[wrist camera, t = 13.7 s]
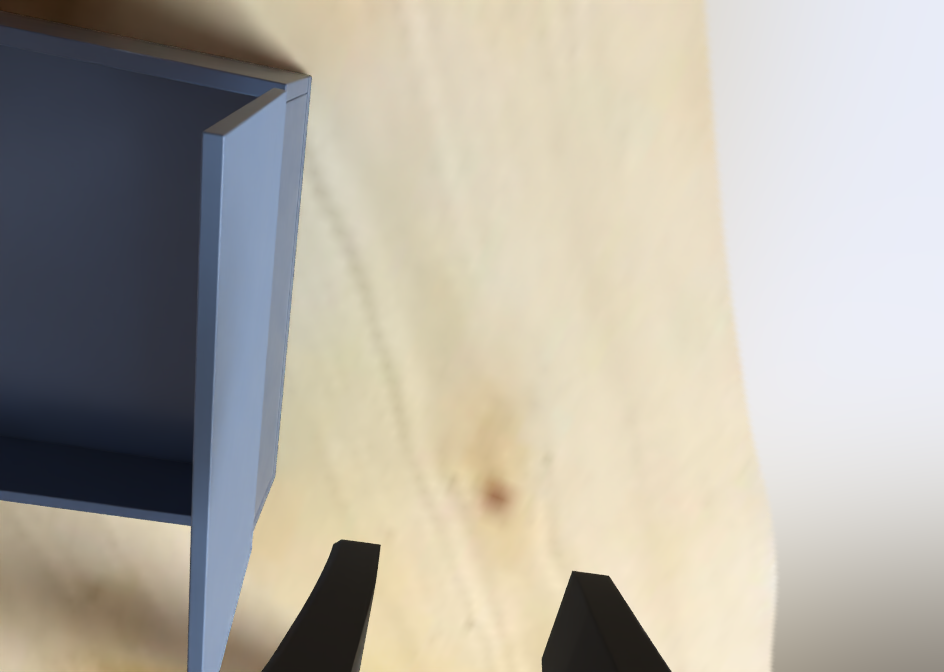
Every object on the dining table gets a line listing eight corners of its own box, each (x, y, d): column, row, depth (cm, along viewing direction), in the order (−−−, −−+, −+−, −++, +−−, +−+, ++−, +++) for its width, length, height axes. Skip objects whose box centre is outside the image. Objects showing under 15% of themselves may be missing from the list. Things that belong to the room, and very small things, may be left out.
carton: (312, 75, 17) (286, 84, 14) (275, 476, 22) (252, 535, 20) (-189, -29, 16) (-314, -40, 13) (-102, 422, 21) (-178, 476, 18)
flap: (273, 87, 14) (287, 89, 14) (241, 548, 19) (251, 549, 19) (201, 130, 9) (225, 135, 9) (184, 747, 14) (199, 747, 14)
